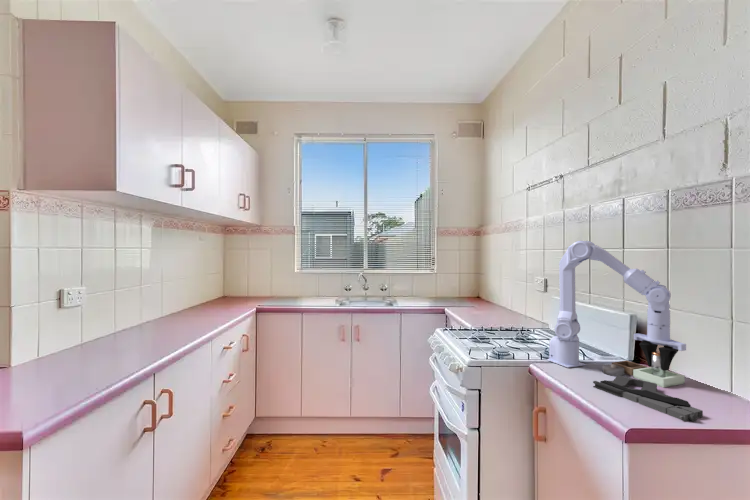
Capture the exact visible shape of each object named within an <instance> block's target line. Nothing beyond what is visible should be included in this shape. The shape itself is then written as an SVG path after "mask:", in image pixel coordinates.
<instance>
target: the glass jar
mask: <svg viewBox="0 0 750 500" xmlns="http://www.w3.org/2000/svg"><path fill="white" fill-rule="evenodd" d="M651 374H652V375H655V376H659V377H662V378H663V377H666V371H663V370H662V368H661V355H660V351H659V350H656V351H652V352H651Z"/></svg>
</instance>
